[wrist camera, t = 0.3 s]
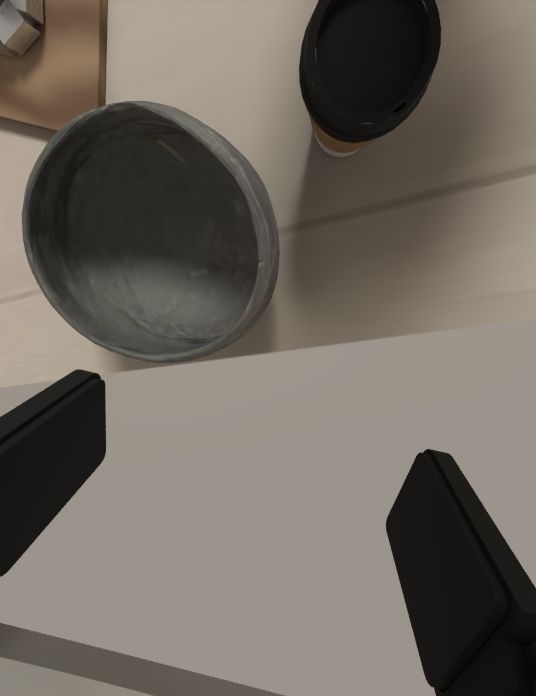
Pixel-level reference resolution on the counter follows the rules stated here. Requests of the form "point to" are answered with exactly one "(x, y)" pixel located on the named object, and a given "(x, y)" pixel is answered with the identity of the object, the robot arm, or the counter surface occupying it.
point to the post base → (58, 66)
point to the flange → (19, 25)
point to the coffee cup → (366, 67)
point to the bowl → (150, 232)
